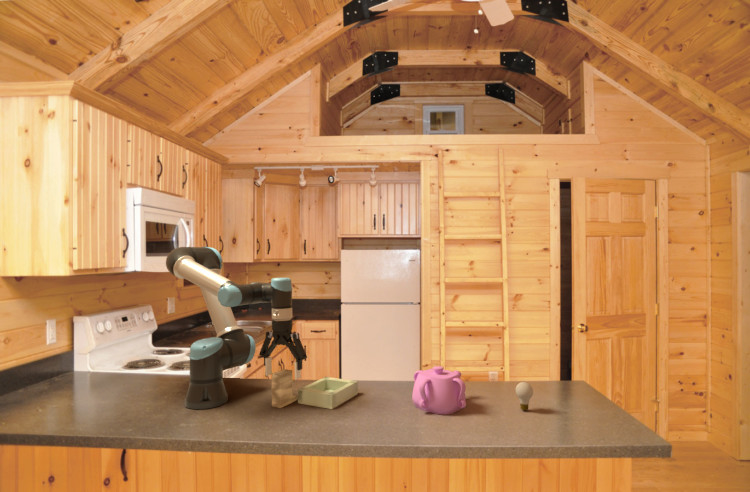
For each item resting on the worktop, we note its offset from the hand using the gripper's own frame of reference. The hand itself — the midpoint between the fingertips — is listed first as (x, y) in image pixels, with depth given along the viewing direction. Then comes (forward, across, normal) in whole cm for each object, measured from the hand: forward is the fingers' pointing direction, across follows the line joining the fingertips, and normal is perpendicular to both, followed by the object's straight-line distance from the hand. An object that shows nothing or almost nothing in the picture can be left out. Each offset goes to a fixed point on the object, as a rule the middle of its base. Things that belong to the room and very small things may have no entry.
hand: (282, 376), depth 165 cm
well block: (+10, +12, +13) cm, 20 cm away
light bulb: (+12, +81, +32) cm, 88 cm away
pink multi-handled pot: (+11, +53, +25) cm, 59 cm away
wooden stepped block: (+10, 0, +2) cm, 10 cm away
